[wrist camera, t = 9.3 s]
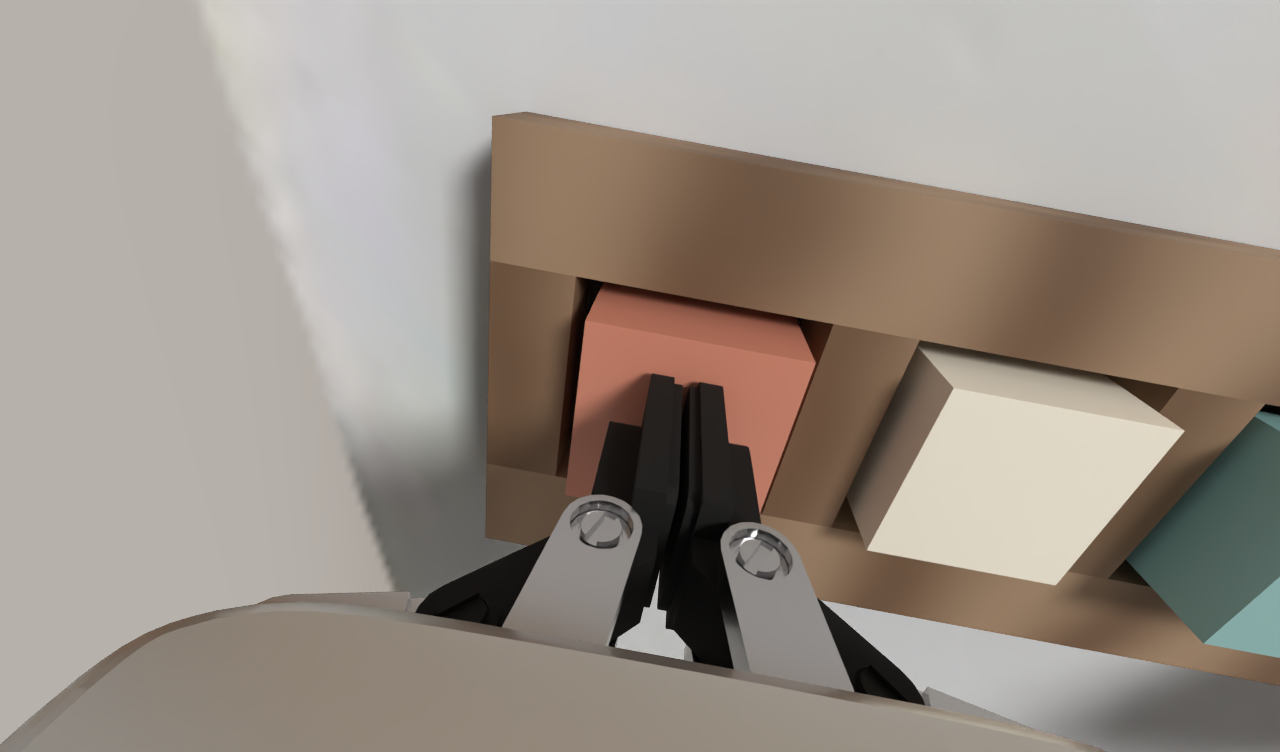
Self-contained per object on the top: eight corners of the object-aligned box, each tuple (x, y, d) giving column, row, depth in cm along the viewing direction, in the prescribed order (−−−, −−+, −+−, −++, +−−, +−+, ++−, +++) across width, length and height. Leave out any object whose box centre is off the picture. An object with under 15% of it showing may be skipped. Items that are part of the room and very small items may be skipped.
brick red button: (792, 310, 14) (815, 363, 11) (744, 458, 16) (753, 529, 13) (606, 276, 14) (585, 320, 11) (586, 429, 16) (564, 495, 13)
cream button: (1090, 365, 14) (1184, 430, 11) (997, 504, 16) (1056, 585, 13) (904, 331, 14) (953, 388, 11) (838, 475, 16) (866, 550, 13)
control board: (1593, 307, 12) (1775, 351, 10) (1232, 621, 18) (1302, 689, 16) (525, 111, 12) (492, 115, 10) (509, 486, 18) (485, 537, 16)
